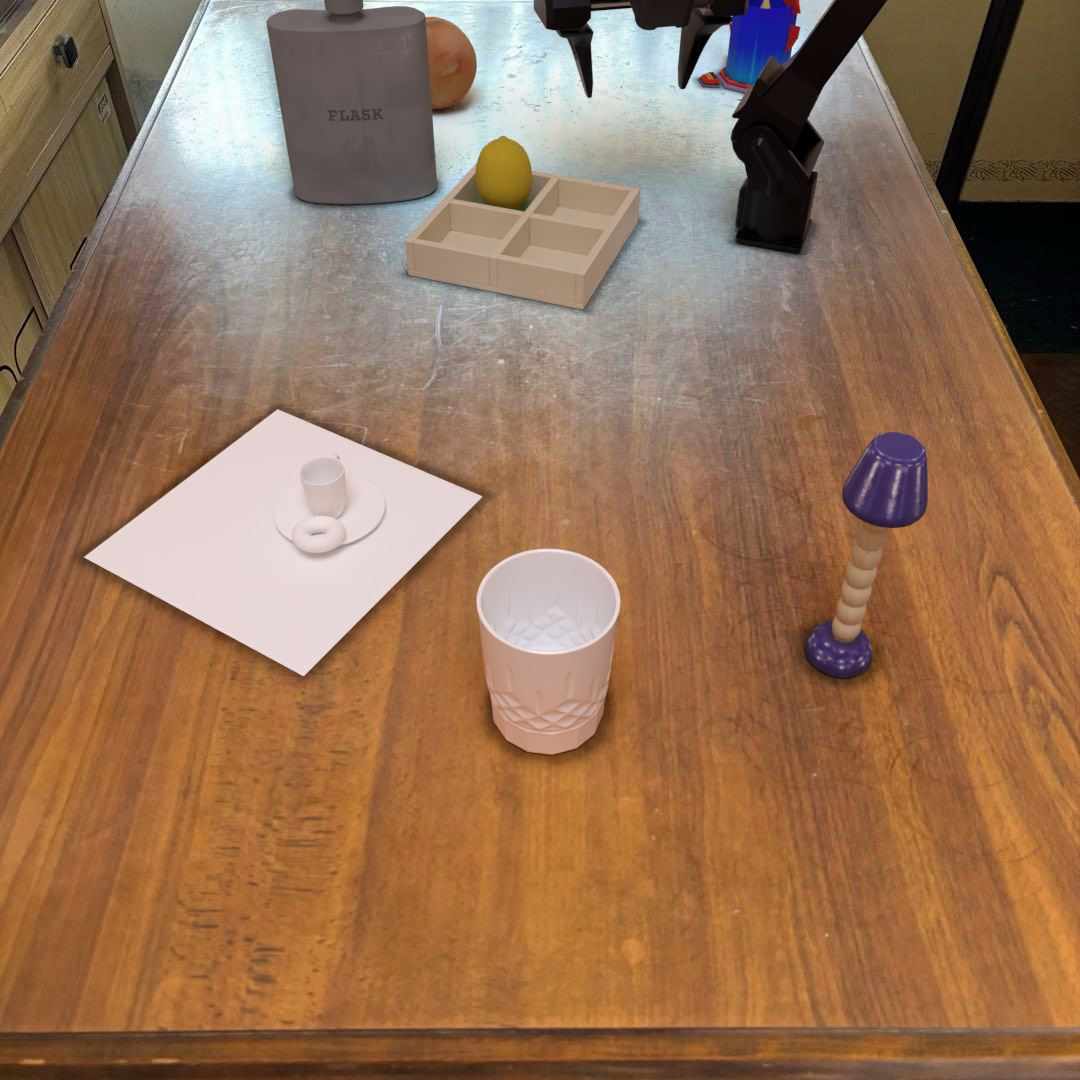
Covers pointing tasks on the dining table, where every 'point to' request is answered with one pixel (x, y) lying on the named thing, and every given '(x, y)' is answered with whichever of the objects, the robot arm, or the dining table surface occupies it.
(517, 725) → the white cup
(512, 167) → the lemon
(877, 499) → the toy lamp
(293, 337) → the dining table surface
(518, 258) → the tray
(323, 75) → the flask
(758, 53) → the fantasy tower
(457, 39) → the onion
